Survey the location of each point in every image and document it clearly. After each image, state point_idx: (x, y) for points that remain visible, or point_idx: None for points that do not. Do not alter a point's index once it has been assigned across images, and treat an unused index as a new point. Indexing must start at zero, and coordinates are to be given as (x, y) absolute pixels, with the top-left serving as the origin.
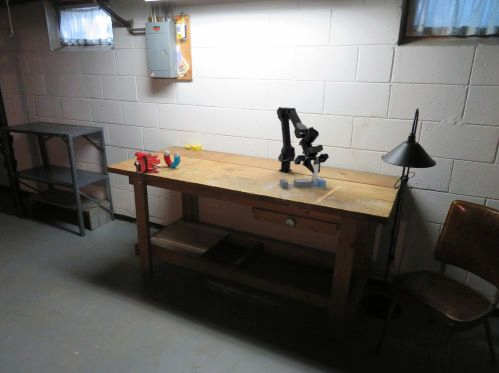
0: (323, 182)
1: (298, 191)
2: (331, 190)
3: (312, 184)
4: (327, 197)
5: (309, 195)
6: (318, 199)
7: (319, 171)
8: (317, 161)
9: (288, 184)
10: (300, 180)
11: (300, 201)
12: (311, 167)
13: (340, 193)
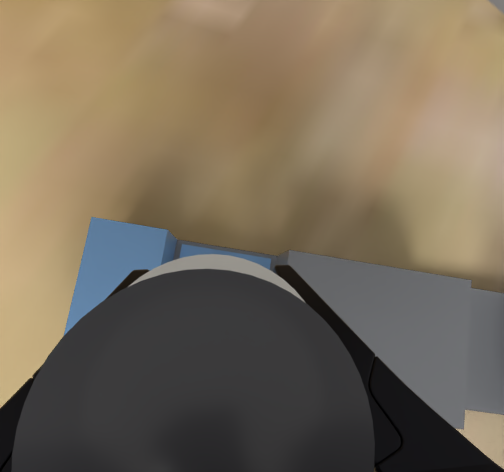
0: (132, 226)
1: (424, 224)
2: (97, 161)
3: None
4: (246, 18)
5: (372, 104)
6: (343, 5)
7: (144, 272)
8: (196, 272)
9: (478, 403)
10: (408, 337)
11: (494, 15)
12: (347, 337)
13: (65, 63)
